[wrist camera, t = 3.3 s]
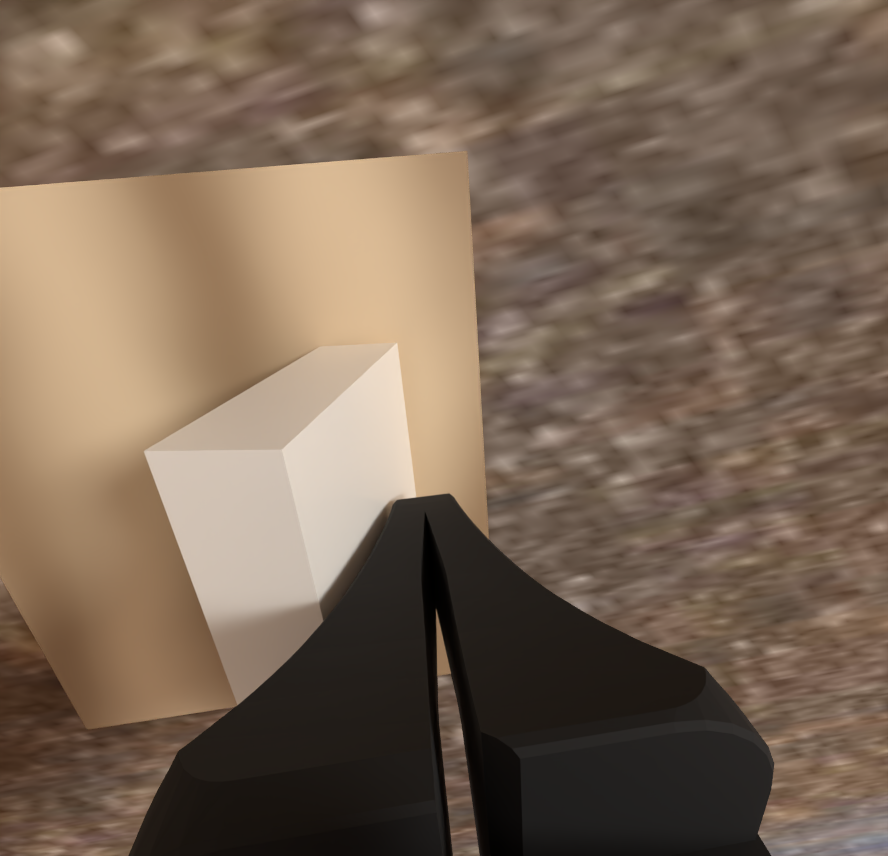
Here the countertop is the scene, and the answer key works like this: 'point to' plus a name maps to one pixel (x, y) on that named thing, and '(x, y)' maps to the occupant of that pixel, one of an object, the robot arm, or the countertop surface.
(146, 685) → the mat
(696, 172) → the countertop surface
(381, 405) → the block
